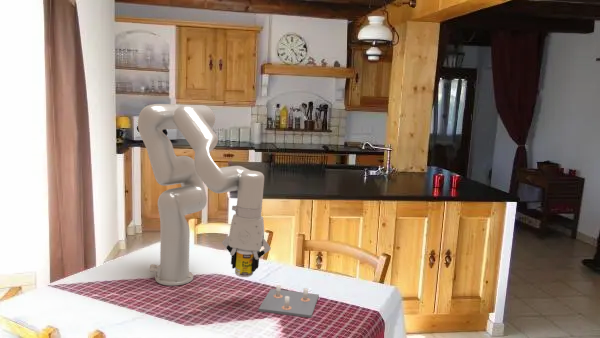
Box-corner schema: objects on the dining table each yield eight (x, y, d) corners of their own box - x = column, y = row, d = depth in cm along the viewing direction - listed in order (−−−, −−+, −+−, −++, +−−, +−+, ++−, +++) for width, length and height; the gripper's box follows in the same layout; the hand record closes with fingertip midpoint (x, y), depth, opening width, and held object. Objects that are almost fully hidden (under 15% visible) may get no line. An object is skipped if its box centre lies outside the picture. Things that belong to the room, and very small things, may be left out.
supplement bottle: (239, 279, 149) (242, 246, 148) (231, 272, 154) (234, 240, 152) (256, 276, 152) (258, 244, 151) (247, 269, 157) (250, 239, 155)
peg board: (258, 311, 149) (259, 297, 149) (270, 291, 165) (271, 278, 164) (311, 317, 146) (311, 304, 146) (318, 296, 162) (319, 284, 161)
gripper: (217, 210, 147) (213, 268, 151) (273, 219, 145) (268, 277, 148) (225, 205, 155) (221, 260, 158) (279, 212, 152) (274, 268, 155)
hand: (244, 268), depth 153 cm, fingers closed on supplement bottle, 5 cm apart
